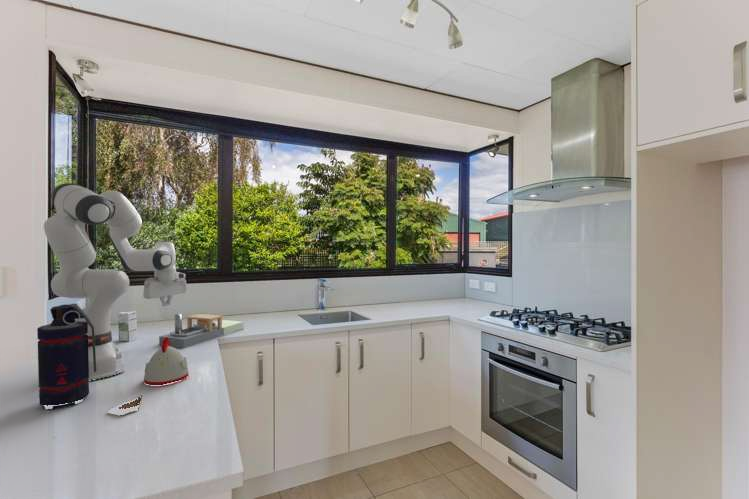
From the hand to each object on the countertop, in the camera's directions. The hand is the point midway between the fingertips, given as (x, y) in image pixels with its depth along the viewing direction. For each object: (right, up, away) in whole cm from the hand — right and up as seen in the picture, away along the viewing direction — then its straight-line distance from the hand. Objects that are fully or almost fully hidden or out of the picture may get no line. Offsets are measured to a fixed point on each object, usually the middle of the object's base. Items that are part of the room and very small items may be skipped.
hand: (166, 305), depth 173 cm
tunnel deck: (+8, -19, +21) cm, 30 cm away
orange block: (+8, -15, +21) cm, 27 cm away
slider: (+6, -15, +15) cm, 22 cm away
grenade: (+2, -21, -58) cm, 62 cm away
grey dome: (+23, -21, -40) cm, 50 cm away
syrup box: (-27, -20, +14) cm, 37 cm away
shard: (+23, -22, -63) cm, 71 cm away
